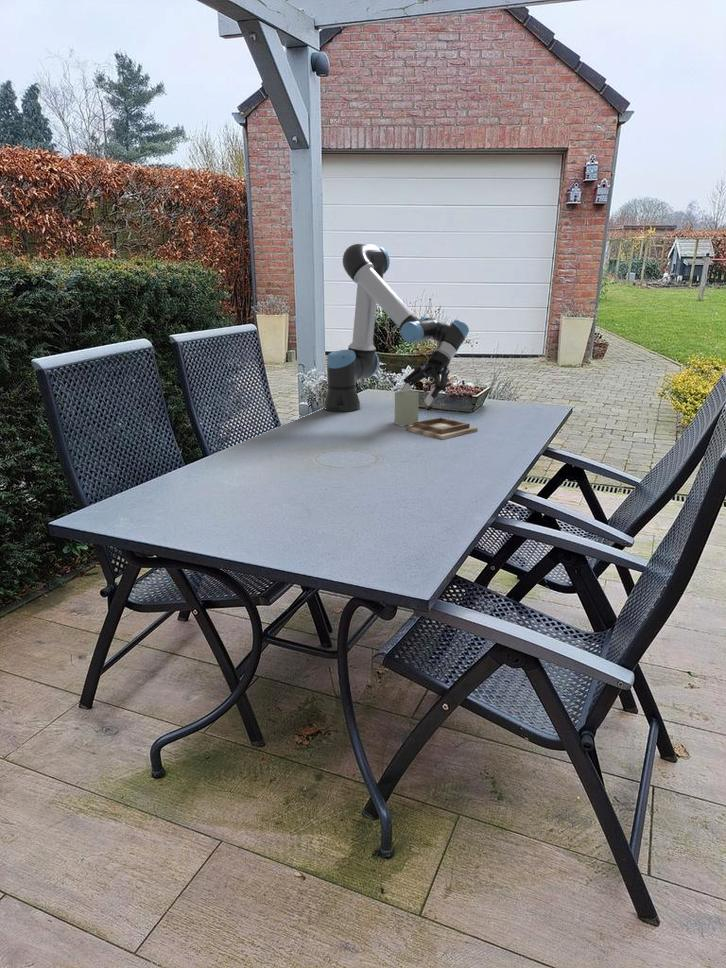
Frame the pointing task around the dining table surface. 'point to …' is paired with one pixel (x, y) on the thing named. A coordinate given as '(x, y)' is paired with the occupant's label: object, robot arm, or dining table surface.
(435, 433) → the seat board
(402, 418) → the can
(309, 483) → the dining table surface
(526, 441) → the dining table surface
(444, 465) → the dining table surface
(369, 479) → the dining table surface
